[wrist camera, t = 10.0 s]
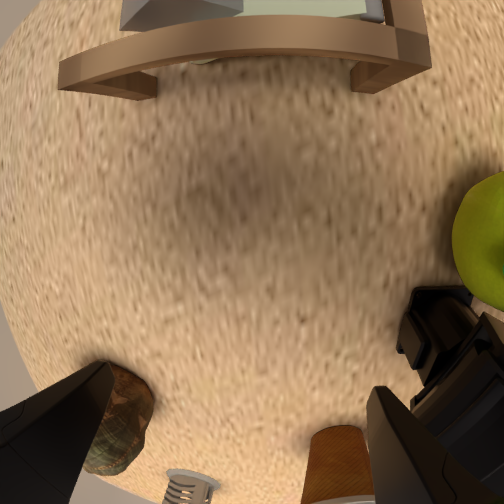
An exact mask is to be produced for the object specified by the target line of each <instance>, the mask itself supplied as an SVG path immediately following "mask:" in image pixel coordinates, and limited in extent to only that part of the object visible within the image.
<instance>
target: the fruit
mask: <svg viewBox="0 0 504 504" xmlns="http://www.w3.org/2000/svg"><path fill="white" fill-rule="evenodd" d="M452 249H453V256H454V261H455V264H456V268H457V271H458V273H459V275H460V278H461V280H462V281H463V283H464V285H465V286H466V287H467V289H468V290H469V291H470V292H471V293H472V294H473V295H474V296H475V297H477V298H478V299H480V300H481V301H483V302H484V303H486V304H488V305H490V306H492V307H494V308H496V309H498V310H500V311H502V312H504V171H502V172H499V173H497V174H495V175H492V176H490V177H488V178H486V179H484V180H483V181H481V182H479V183H478V184H476V185H475V186H473V187H472V188H471V189H470V190H469V191H468V192H467V193H466V195H465V197H464V198H463V200H462V202H461V205H460V207H459V209H458V212H457V214H456V217H455V220H454V224H453V229H452Z"/></svg>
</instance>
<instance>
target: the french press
mask: <svg viewBox="0 0 504 504" xmlns="http://www.w3.org/2000/svg"><path fill="white" fill-rule="evenodd" d="M166 472H167V475H168V477H169V479H170V482H169V483H168V488H167V489H166V493H165V496H164V498H165V499H163V501H162V504H179V503H188V504H210V503H211V499H212V495H213V491H214V490H217V489H219V488H220V484H219V482H218V481H216V480H215V479H213V478H211V477H209V476H206V475H203V474H201V473H198V472H194V471H190V470H184V469H169V470H168V471H166ZM182 491H188V492H190V493H192V494H185V493H182ZM180 497H188V498H190V499H192V500H186V499H182V498H180ZM207 499H208V501H207V502H205V500H207Z"/></svg>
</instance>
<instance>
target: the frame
mask: <svg viewBox="0 0 504 504" xmlns="http://www.w3.org/2000/svg"><path fill="white" fill-rule="evenodd" d="M382 4H383V10H384V16H385V23H386V25H383V24H378V23H372V22H366V21H360V20H353V19H345V18H336V17H325V16H311V15H250V16H236V17H225V18H216V19H208V20H201V21H194V22H188V23H183V24H177V25H172V26H167V27H163V28H158V29H154V30H150V31H146V32H142V33H138V34H135V35H131V36H128V37H124V38H121V39H118V40H115V41H112V42H109V43H106V44H103V45H100V46H97V47H94V48H92V49H89V50H86V51H84V52H81V53H79V54H76V55H74V56H72V57H69V58H67V59H65V60H62V61H60V62H59V74H58V90H65V91H75V92H84V93H92V94H100V95H107V96H113V97H119V98H125V99H131V100H137V101H139V100H144V99H150V98H156V97H157V95H156V83H157V78H156V77H153V76H151V75H148V74H146V73H143V72H140V71H141V70H146V69H150V68H155V67H160V66H166V65H171V64H177V63H183V62H190V61H198V60H206V59H215V58H226V57H239V56H262V55H297V56H319V57H332V58H343V59H352V60H360V62H359V63H358V64H357V65H356V66H355V67H354V68H353V69H352V70H351V88H352V92H361V93H369V94H375V93H377V92H379V91H381V90H383V89H385V88H387V87H389V86H391V85H394V84H396V83H398V82H400V81H402V80H405V79H407V78H409V77H411V76H414V75H416V74H418V73H421V72H423V71H425V70H428V69H430V68H432V63H431V54H430V46H429V39H428V32H427V26H426V21H425V15H424V10H423V5H422V1H421V0H382Z"/></svg>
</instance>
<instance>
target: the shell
mask: <svg viewBox="0 0 504 504" xmlns="http://www.w3.org/2000/svg"><path fill="white" fill-rule="evenodd" d="M110 366H111V369H112V371H113V374H114V376H115V385H114V388H113V391H112V393H111V397H110V400H109V403H108V406H107V409H106V412H105V415H104V417H103V420H102V422H101V424H100V427H99V429H98V431H97V433H96V436H95V438H94V440H93V443H92V445H91V447H90V450H89V452H88V455H87V457H86V459H85V462H84V464H83V469H84V470H85V471H87V472H88V473H92V474H97V475H101V476H114V475H118V474H119V473H121V472H123V471H125V470H126V468H127V467H128V466H129V464H130V463H131V462H132V461H133V460H134V459H135V458H136V457H137V456H138V454H139V453H140V452H141V451H142V449H143V447H144V443H145V431H146V429H147V427H148V425H149V422H150V420H151V417H152V414H153V400H152V397H151V394H150V391H149V389H148V387H147V385H146V384H145V382H144V381H143V380H142V379H140V378H139V377H137V376H135V375H133V374H131V373H130V372H128V371H126V370H124V369H122V368H120V367H118V366H116V365H112V364H110Z"/></svg>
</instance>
